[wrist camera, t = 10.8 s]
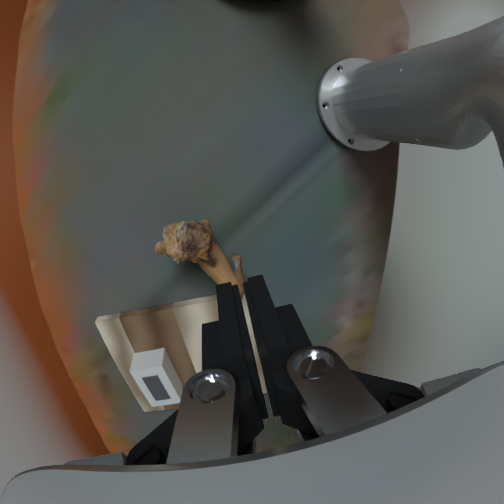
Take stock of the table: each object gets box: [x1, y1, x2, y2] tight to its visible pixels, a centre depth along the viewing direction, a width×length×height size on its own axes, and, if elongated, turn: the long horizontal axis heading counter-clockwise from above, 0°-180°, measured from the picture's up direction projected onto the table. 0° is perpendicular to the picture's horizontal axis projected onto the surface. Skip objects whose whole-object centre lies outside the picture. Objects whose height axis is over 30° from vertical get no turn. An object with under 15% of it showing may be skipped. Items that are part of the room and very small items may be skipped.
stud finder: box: [130, 348, 183, 407], centre depth 40 cm, size 5×8×4 cm, turn 12°
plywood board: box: [95, 293, 267, 412], centre depth 43 cm, size 22×20×2 cm
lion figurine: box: [155, 219, 245, 300], centre depth 34 cm, size 15×5×9 cm, turn 44°
